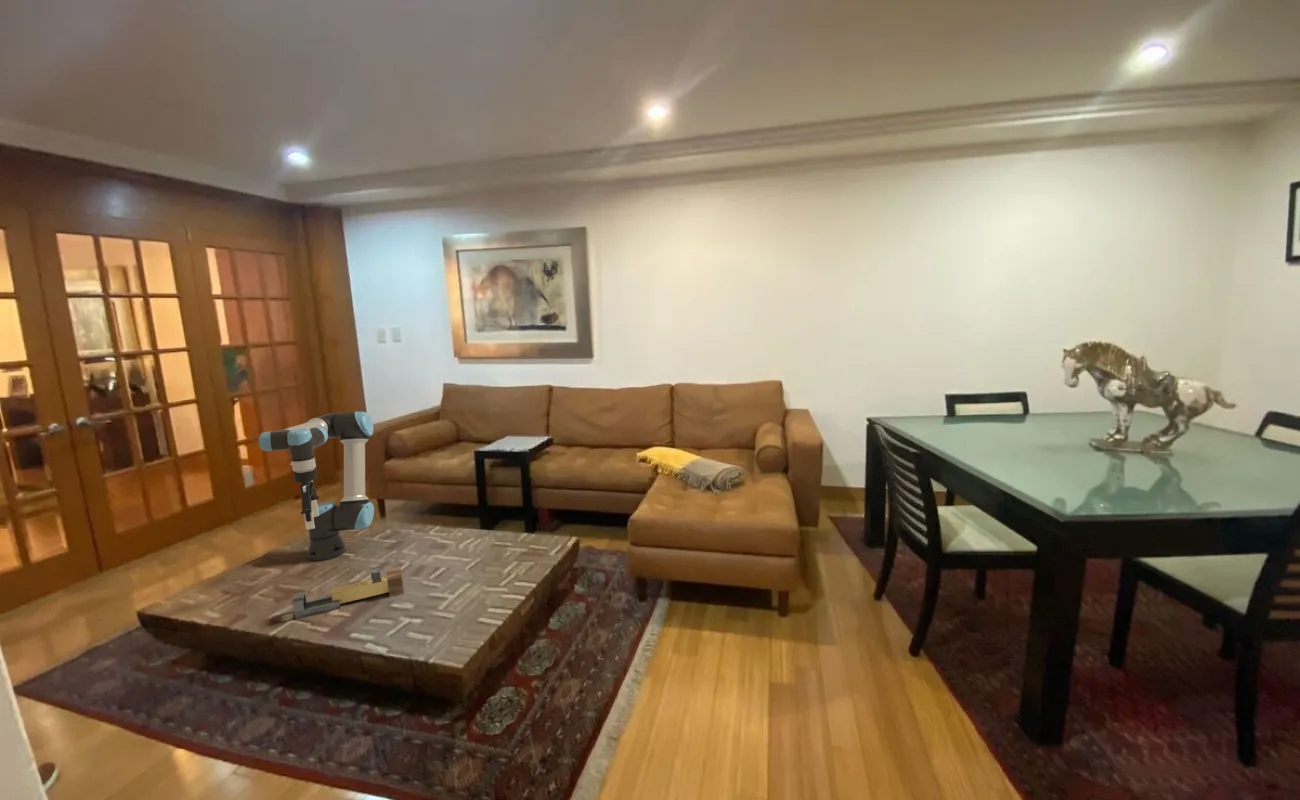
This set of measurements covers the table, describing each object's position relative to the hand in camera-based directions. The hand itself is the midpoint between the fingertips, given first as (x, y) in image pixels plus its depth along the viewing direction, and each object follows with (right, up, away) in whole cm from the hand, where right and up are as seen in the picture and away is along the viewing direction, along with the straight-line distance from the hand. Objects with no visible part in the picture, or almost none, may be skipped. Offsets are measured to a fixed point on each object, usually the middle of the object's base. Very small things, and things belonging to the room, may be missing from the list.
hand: (312, 522), depth 202 cm
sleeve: (+8, -30, -8) cm, 32 cm away
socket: (+31, -28, +3) cm, 42 cm away
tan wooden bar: (+22, -28, -1) cm, 35 cm away
